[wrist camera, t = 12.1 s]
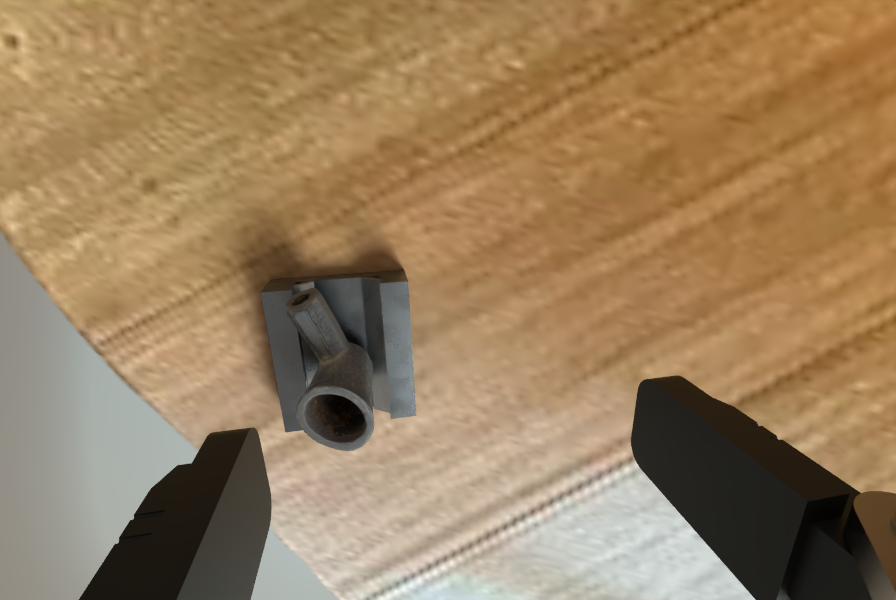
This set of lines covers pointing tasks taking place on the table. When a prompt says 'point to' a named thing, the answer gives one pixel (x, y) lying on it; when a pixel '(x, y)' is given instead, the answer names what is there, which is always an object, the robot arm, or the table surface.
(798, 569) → the robot arm
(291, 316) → the pipe
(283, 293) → the v block
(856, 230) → the table surface
